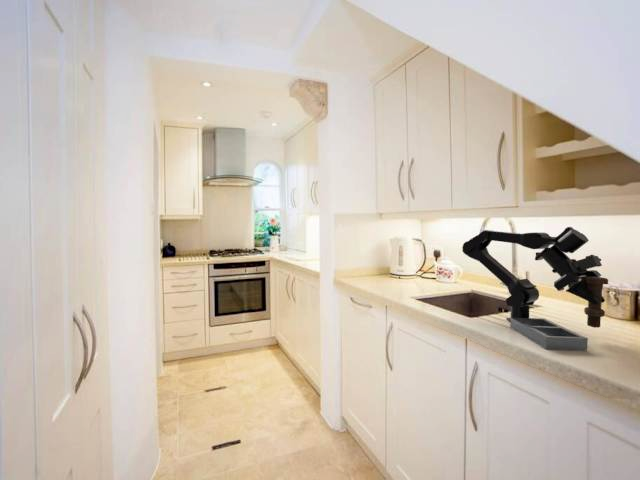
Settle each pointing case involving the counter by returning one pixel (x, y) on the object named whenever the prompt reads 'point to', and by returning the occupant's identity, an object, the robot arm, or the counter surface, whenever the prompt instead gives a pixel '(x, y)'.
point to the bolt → (596, 289)
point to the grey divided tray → (549, 334)
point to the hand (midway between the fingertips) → (600, 302)
